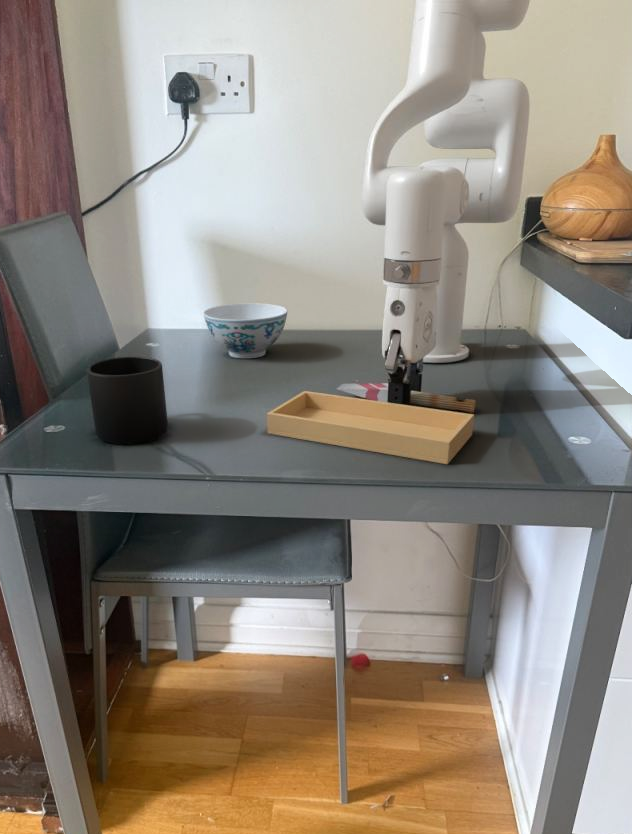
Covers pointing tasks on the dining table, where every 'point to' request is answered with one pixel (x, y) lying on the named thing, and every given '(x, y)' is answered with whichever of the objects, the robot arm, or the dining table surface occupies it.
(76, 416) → the dining table surface
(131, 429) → the mug
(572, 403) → the dining table surface
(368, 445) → the brush tray
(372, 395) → the folding fan
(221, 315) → the chinaware
